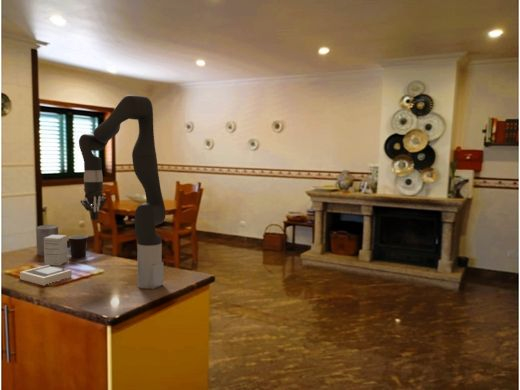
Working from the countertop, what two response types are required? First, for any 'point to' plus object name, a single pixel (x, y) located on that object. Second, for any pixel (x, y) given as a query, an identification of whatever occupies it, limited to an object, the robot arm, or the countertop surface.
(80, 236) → the coffee mug
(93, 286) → the countertop surface
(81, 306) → the countertop surface
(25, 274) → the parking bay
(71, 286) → the countertop surface
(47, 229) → the pillar candle
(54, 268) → the white box with feet
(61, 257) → the supplement box
